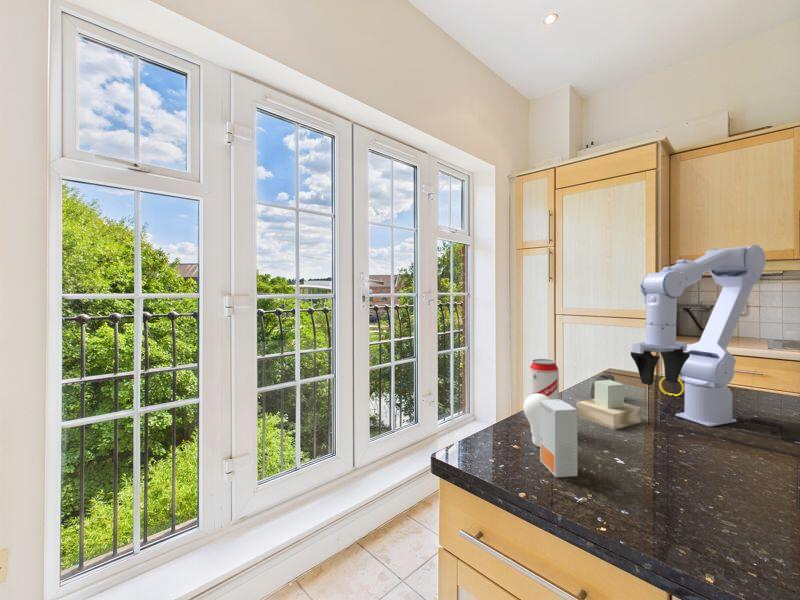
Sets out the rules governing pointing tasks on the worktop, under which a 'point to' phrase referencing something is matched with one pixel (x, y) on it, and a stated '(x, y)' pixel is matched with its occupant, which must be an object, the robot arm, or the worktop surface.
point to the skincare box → (558, 437)
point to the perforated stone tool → (600, 378)
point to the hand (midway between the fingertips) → (659, 383)
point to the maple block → (609, 414)
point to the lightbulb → (534, 415)
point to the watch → (670, 393)
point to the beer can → (544, 378)
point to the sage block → (609, 394)
